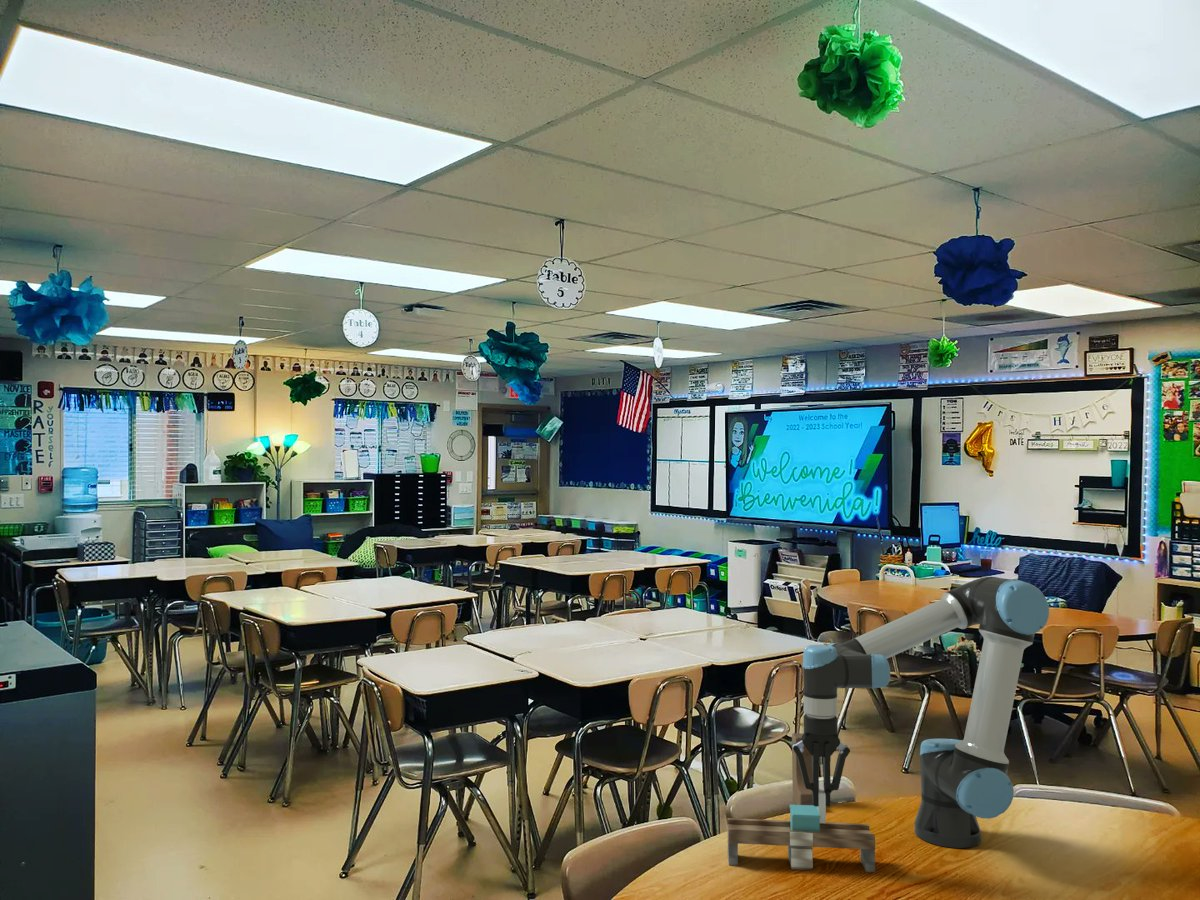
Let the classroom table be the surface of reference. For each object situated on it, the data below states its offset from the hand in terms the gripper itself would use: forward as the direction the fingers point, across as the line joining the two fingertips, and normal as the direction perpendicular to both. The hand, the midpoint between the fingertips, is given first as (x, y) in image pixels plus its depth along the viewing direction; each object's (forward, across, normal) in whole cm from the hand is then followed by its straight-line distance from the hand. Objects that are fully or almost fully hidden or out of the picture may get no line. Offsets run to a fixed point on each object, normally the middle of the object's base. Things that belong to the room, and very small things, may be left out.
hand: (821, 820), depth 192 cm
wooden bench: (+10, +5, 0) cm, 11 cm away
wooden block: (+10, -1, -38) cm, 39 cm away
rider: (+2, +4, 0) cm, 4 cm away
